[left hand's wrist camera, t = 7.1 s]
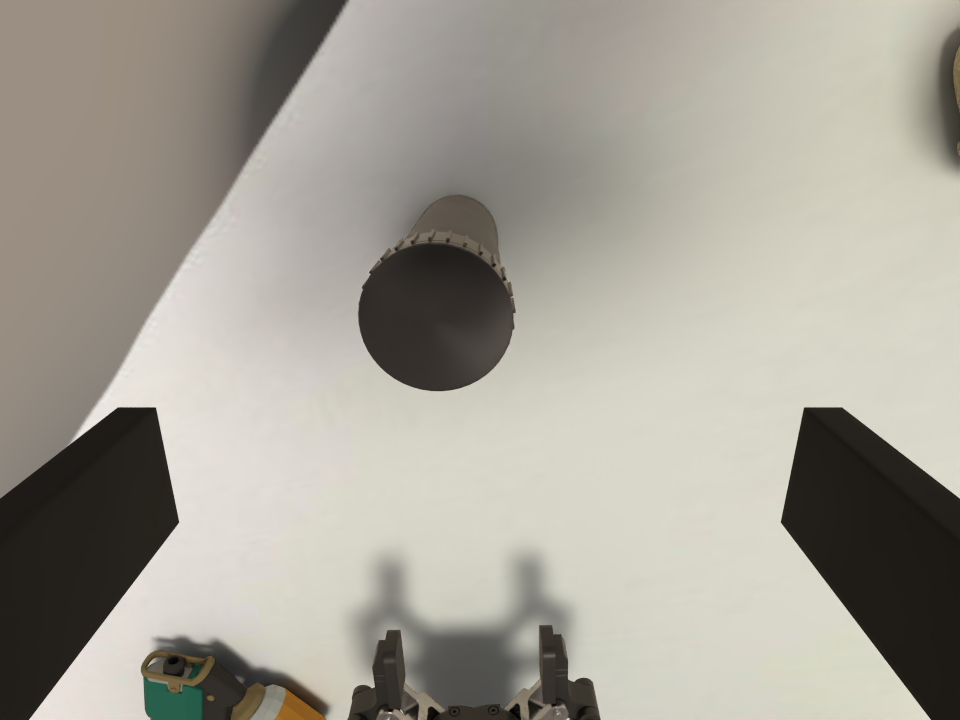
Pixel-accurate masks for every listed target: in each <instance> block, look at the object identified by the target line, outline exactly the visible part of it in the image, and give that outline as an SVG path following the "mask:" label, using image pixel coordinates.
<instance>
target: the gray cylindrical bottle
mask: <svg viewBox="0 0 960 720" xmlns="http://www.w3.org/2000/svg"><path fill="white" fill-rule="evenodd" d="M434 229H435V232H449V230H451V231H452V233H455V234H458V235H462V236H465V235H468V236H469V237H468V238H469V239H471V240H473V241H475V242H477V243H478V244H480V243H483V247H484V248H485V249H486V250H488V251H489V252H490V253H491V254H492V255H493V254H495V255H496V260H497V261H498V263H499V264H500V256H499V247H498V237H497V229H496V224H495V222H494V219H493V217H492V215H491V214H490V212H489V211H488V210H487V209H486V208H485V207H484V206H483V205H482V204H481V203H479V202H478V201H476V200H474V199H472V198H469V197H466V196H457V195H454V196H448V197H444V198H442V199H439V200H437V201H436V202H434V203H433V204H432V205H430V206H429V207H428V208H427V210H426V211H425V212H424V214H423V215H422V216H421V218H420V219H419V221H418V222H417V223H416V225H415V226H414V228H413V229H412V231H411V232H410V233H409V235H408V236H407V238H406V239H408V238H410V237H413V236H414V234H415V233H417V232H419V234H423V233H428V232H431V231H432V230H434ZM406 239H405V240H406Z"/></svg>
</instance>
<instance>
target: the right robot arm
mask: <svg viewBox="0 0 960 720" xmlns="http://www.w3.org/2000/svg"><path fill="white" fill-rule="evenodd" d="M539 655H540V679H539V680H538V681H537V682H536V683H535V684H534V686H533V687H532V688H531V689H530V690H527V689H525V688H524V689H522V690H521V691H520V692H519V693H518V694H517V695H516V696H515V697H514V699H513V700H512V701H511V702H510V703H509V704H508V705H507V706H506V707H505V708H504V709H501V708H500V704H494V705H484V706H480V707H475V708H472V707H466V706H448V710H447V711H446V710H445V709H444V708H442V707H441V706H440V705H439V704H438V703H437V702H435V701H434V700H433V699H432V698H431V697H430V696H429V695H427V694H426V693H425V692H421V693H420V694H417V693H416V692H415V691H414V690H413V689H411V688H410V687H409V686H408V685H407V684H406V683H405V667H404V658H403V649H402V640H401V631H400V630H387V634H386V640H379V642H378V644H377V647H376V652H375V657H374V662H373V667H372V668H373V675H374V683H375V688H371V687H369V686H366V685H360V686H357V687H356V688H355V689H354V692H353V696H352V705H351V709H350V714H349V718H348V719H347V720H566V719H567V718H570V720H600V715H599V710H598V705H597V700H596V696H595V691H594V686H593V682H592V681H591V680H590V679H588V678H580V679H577V680H576V681H575V682H572V681H570V680H568V659H567V653H566V647H565V641H564V639H563V637H562V635H561V634H559V635H553V629H552V625H539ZM400 709H401V710H402V711H403V713H404V714H403V713H401V712H400Z"/></svg>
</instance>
